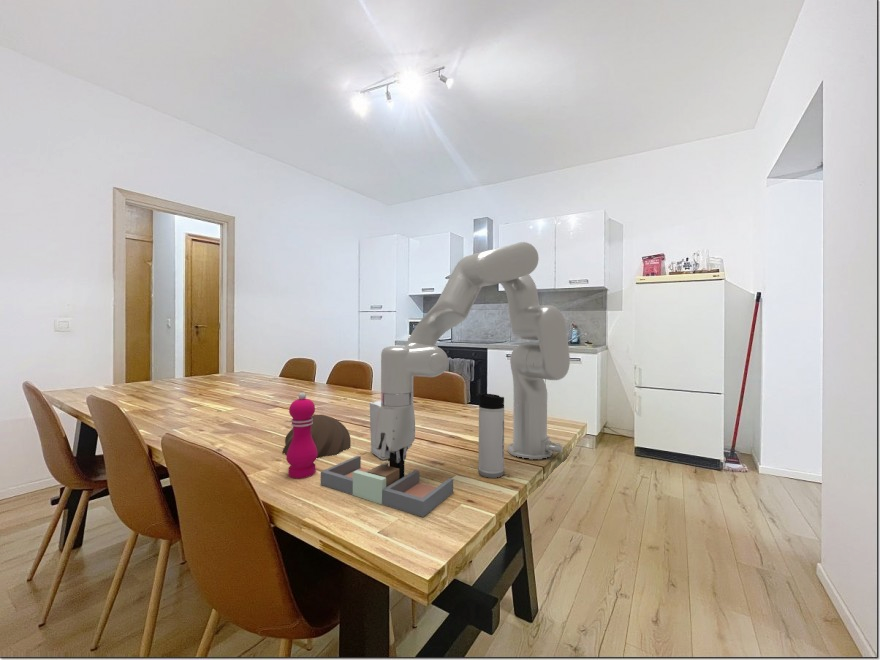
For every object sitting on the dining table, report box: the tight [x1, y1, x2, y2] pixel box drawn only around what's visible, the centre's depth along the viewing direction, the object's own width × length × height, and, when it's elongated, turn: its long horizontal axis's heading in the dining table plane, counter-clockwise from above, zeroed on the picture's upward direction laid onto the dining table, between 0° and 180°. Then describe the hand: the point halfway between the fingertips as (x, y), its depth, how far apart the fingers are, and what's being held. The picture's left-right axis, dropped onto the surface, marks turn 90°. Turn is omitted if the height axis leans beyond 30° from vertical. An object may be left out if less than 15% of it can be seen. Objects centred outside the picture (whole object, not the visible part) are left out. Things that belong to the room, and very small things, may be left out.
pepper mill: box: [285, 392, 318, 479], centre depth 90 cm, size 7×7×20 cm
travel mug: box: [477, 392, 505, 479], centre depth 91 cm, size 6×7×20 cm
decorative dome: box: [282, 414, 351, 459], centre depth 110 cm, size 19×20×10 cm
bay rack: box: [320, 455, 454, 518], centre depth 82 cm, size 28×12×5 cm, turn 60°
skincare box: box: [369, 400, 393, 461], centre depth 104 cm, size 8×6×15 cm
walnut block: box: [368, 463, 399, 487], centre depth 82 cm, size 5×5×4 cm
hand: (396, 477), depth 86 cm, fingers closed
